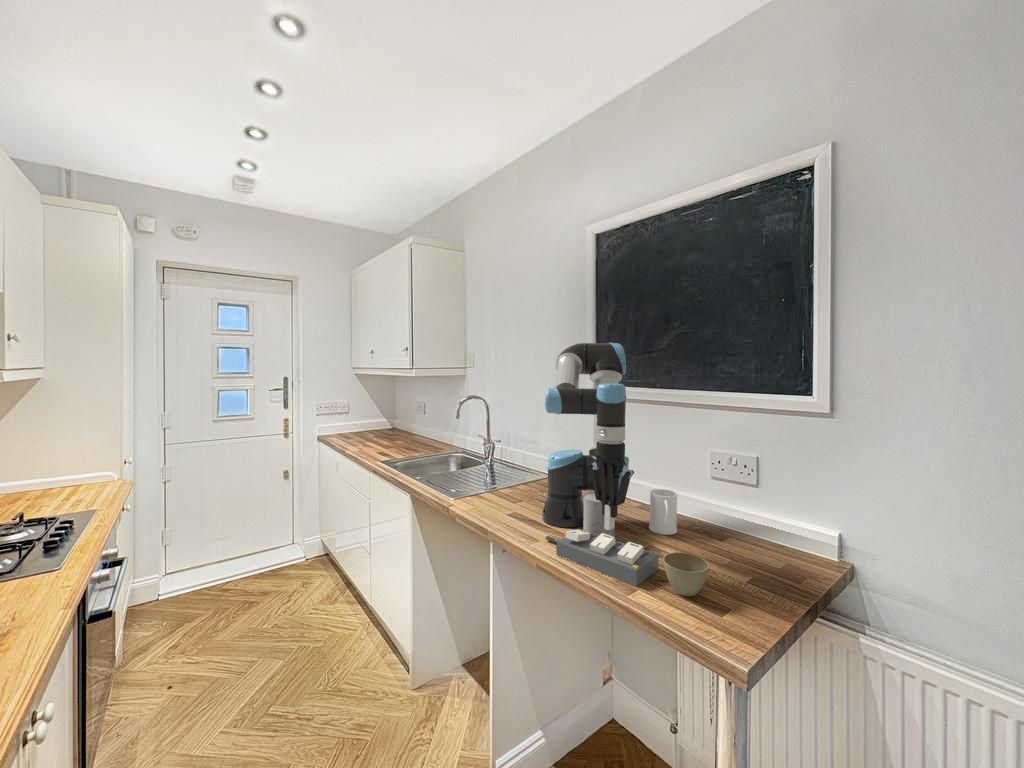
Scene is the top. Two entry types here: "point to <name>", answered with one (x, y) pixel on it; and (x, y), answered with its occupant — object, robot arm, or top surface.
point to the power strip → (607, 559)
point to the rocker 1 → (577, 535)
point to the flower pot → (685, 572)
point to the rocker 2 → (602, 543)
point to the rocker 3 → (630, 553)
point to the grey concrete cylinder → (594, 516)
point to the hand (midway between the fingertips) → (609, 528)
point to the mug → (663, 511)
